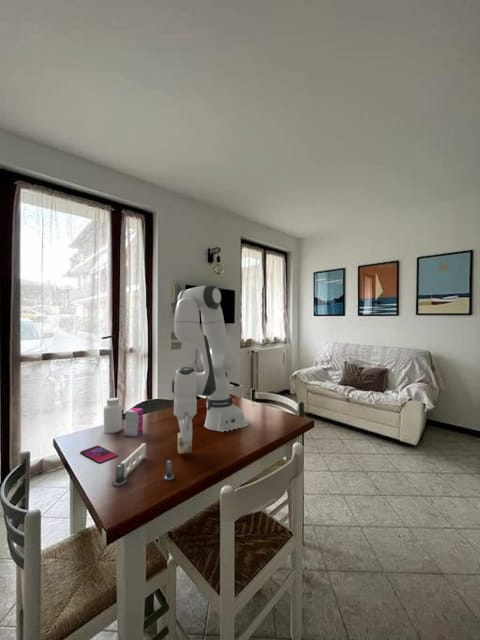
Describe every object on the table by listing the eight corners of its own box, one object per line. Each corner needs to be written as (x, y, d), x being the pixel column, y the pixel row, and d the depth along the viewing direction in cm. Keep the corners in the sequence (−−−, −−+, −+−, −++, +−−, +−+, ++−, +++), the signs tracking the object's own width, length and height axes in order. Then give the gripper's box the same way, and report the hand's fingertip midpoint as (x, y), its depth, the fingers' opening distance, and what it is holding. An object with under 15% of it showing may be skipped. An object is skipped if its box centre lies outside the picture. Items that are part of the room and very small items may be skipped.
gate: (124, 477, 93) (124, 463, 93) (120, 477, 93) (120, 463, 93) (145, 456, 108) (145, 443, 108) (142, 455, 108) (142, 443, 108)
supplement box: (136, 437, 127) (136, 412, 127) (124, 436, 128) (124, 411, 128) (143, 432, 133) (143, 408, 133) (131, 431, 134) (132, 407, 134)
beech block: (190, 446, 114) (190, 431, 114) (191, 452, 109) (191, 436, 109) (177, 447, 112) (177, 432, 112) (178, 453, 108) (178, 437, 108)
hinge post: (127, 477, 94) (127, 461, 94) (126, 485, 90) (126, 468, 90) (113, 480, 93) (113, 463, 93) (111, 487, 89) (111, 470, 89)
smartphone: (99, 463, 103) (79, 451, 112) (99, 465, 103) (79, 454, 112) (118, 455, 109) (98, 444, 118) (118, 457, 109) (98, 447, 118)
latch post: (174, 474, 97) (174, 458, 97) (174, 479, 93) (174, 463, 93) (163, 475, 96) (163, 459, 96) (163, 481, 92) (163, 464, 92)
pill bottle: (107, 427, 139) (107, 397, 139) (124, 427, 139) (124, 396, 139) (100, 433, 131) (101, 401, 131) (118, 433, 131) (118, 401, 131)
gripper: (196, 417, 102) (196, 455, 102) (190, 401, 121) (190, 433, 121) (178, 418, 100) (178, 457, 100) (175, 402, 120) (175, 435, 119)
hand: (184, 444), depth 111 cm, fingers closed on beech block, 5 cm apart
